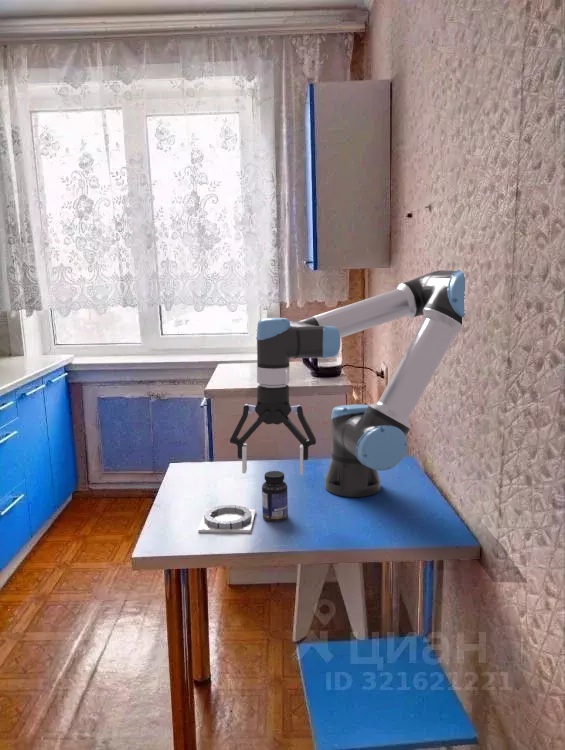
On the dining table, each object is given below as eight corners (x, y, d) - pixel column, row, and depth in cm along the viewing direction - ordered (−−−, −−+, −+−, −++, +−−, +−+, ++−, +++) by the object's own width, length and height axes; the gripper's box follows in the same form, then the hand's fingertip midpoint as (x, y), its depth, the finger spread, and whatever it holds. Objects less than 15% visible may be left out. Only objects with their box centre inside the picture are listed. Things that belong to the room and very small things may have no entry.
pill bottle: (291, 514, 145) (290, 471, 144) (283, 524, 140) (282, 479, 138) (267, 511, 147) (266, 468, 146) (258, 520, 142) (257, 476, 140)
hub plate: (255, 512, 147) (255, 504, 146) (250, 533, 135) (250, 524, 135) (207, 511, 147) (207, 504, 147) (198, 532, 136) (197, 524, 135)
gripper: (326, 382, 141) (325, 468, 145) (222, 381, 142) (223, 466, 146) (327, 388, 134) (325, 478, 137) (217, 386, 135) (218, 476, 138)
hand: (272, 472), depth 142 cm, fingers open, 13 cm apart
